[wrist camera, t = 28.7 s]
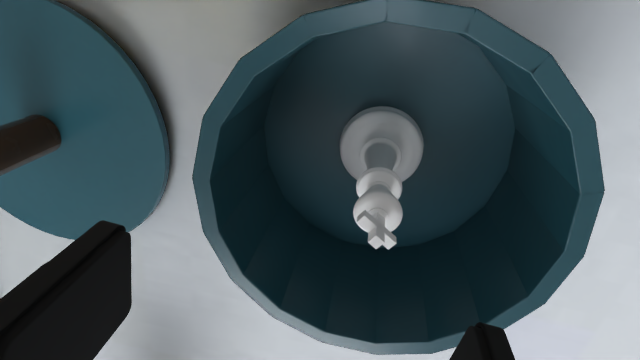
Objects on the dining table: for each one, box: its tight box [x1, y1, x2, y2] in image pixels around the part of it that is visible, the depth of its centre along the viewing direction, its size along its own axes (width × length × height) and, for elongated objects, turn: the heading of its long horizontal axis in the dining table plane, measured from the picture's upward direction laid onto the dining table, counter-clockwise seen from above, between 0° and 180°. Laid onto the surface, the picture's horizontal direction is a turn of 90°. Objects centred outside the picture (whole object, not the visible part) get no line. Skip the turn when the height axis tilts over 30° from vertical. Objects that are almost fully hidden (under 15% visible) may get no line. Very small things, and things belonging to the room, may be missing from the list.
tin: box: [192, 0, 605, 355], centre depth 19 cm, size 16×16×8 cm
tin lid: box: [0, 0, 170, 240], centre depth 24 cm, size 17×17×6 cm
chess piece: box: [340, 106, 424, 250], centre depth 18 cm, size 5×5×10 cm
